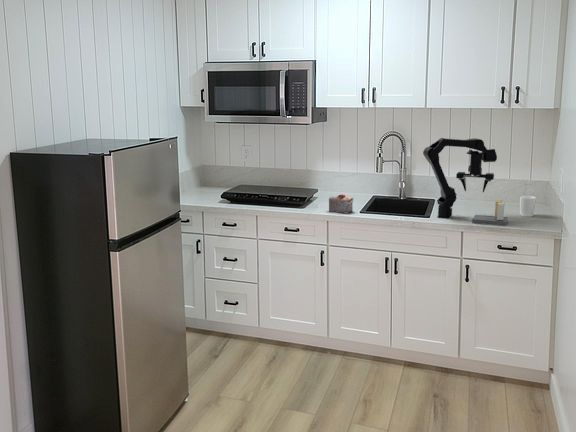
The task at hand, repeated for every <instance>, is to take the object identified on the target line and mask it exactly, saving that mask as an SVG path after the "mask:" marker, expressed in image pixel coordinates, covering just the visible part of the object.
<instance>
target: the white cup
mask: <svg viewBox="0 0 576 432" xmlns="http://www.w3.org/2000/svg"><path fill="white" fill-rule="evenodd" d="M536 200H537V197H536V196H532V195H521V196H520V197H519V216H521V217H527V218H528V217H529V218H531V217H534V214H535V208H536Z"/></svg>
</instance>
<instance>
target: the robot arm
mask: <svg viewBox="0 0 576 432" xmlns="http://www.w3.org/2000/svg"><path fill="white" fill-rule="evenodd" d="M445 147H454V148H455V147H458V148H459V147H460V148H467V149H469V150H468V151H467V152H466V154H467V155H469V156H470V158H469V159H470V160H469V165H468V168H467V171H468V172H469V173H466V171H458V172H457V173H456V175H455V176H456V177H455V178H456V179H458V180H459V181H460V182H461V184H462V186H463V189H464V192H467V183H466V181H467V178H476V179H477V178H481V179H484V182H483V187H482V193H484V192H485V190H486V187H487V185H488V183H489V182H491V181H493V180H494V179H495V173H494V172H486V173H485V174H484V173H482V171H483V168H482V162H483V163H496V161H497V159H498V156H497V151H496V149H495V148H490V149H488V148H487V147H486V146H485V142H484V140H483V139H481V138H467V139H455V138H444V137H441V138H439V139H438V140H436V141H435V142H433V143H432V144H430V145H429V146H426V147H425V148H424V149H423V151H422V152H423V153H422V154H423V156H424V157H425V160H427V162H428V163H429V164H430V166H431V169H432V171H433V173H434V175H435V178H436V180H437V183H438V186H439V188H440V197H439V198H438V199H437V200H436V202H437V205H438V206H437V207H438V209H437V210H438V211H437V216H436V217H437V218H438V219H439V218H441V219H442V218H443V219H451V218H452V217H453V208H452V207H453V206H454V203H455V202H456V200H457V196H458V195H457V193H456V189H455V188H453V187H452V186H450V185H449V183H448V180H447V178H446V176H445V173H444V171H443V169H442V166H441V164H440V163H441V162H440V155H439V154H440V153H441V152H442V151H443V150H444V148H445Z"/></svg>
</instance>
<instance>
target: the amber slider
mask: <svg viewBox="0 0 576 432" xmlns="http://www.w3.org/2000/svg"><path fill="white" fill-rule="evenodd" d="M498 203H504V202H503V200H497V199H496V200H495V209H494V216H495V217H497V206H498Z"/></svg>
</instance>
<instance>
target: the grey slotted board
mask: <svg viewBox="0 0 576 432" xmlns="http://www.w3.org/2000/svg"><path fill="white" fill-rule="evenodd" d="M508 219H509V218H508V216H504V219H503V220H497V217H495V215H486V214H475V215H474V216H473V217H472V221H471V224H480V225H489V226H490V225H494V226H504V227H505V226H506V225H507V223H508Z"/></svg>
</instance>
